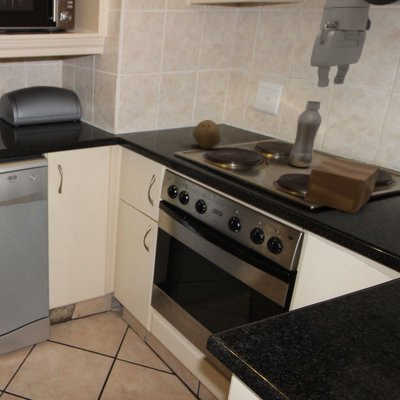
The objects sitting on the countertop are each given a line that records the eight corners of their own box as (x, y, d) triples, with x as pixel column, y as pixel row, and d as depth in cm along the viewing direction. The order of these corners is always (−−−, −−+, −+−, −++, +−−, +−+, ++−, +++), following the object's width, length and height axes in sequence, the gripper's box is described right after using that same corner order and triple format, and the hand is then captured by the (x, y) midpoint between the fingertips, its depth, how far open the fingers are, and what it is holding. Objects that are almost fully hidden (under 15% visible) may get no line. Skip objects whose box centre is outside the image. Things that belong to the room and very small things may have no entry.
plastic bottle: (314, 167, 149) (330, 103, 141) (303, 170, 145) (318, 105, 138) (294, 161, 154) (309, 99, 146) (283, 165, 150) (297, 101, 143)
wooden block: (321, 187, 132) (329, 157, 129) (369, 199, 125) (378, 168, 122) (303, 200, 124) (311, 168, 120) (354, 213, 116) (364, 180, 113)
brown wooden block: (331, 179, 136) (338, 156, 133) (374, 189, 129) (381, 165, 126) (315, 191, 127) (321, 167, 124) (359, 202, 120) (367, 177, 118)
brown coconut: (187, 144, 171) (190, 117, 167) (210, 144, 171) (215, 116, 168) (197, 152, 162) (201, 123, 158) (222, 151, 163) (227, 122, 159)
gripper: (341, 21, 98) (327, 90, 103) (374, 22, 111) (360, 83, 115) (309, 22, 103) (297, 87, 107) (344, 22, 115) (332, 81, 120)
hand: (330, 85), depth 111 cm, fingers open, 8 cm apart
